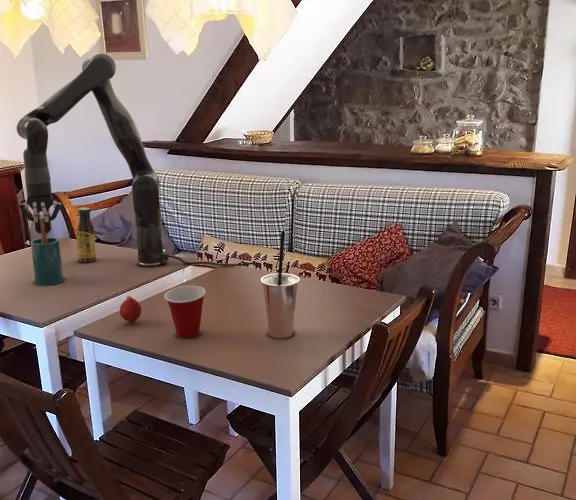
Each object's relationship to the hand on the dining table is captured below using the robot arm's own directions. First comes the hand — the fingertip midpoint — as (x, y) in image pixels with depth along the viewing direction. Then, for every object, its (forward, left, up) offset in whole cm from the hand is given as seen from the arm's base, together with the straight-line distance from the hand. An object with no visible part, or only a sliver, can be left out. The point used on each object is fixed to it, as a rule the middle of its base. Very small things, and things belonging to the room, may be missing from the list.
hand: (43, 232), depth 211 cm
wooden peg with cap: (0, 0, -15) cm, 15 cm away
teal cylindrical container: (0, 0, -17) cm, 17 cm away
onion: (-33, +41, -17) cm, 55 cm away
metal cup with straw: (-74, +54, -17) cm, 93 cm away
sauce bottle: (-8, -23, -17) cm, 30 cm away
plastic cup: (-49, +51, -17) cm, 73 cm away
